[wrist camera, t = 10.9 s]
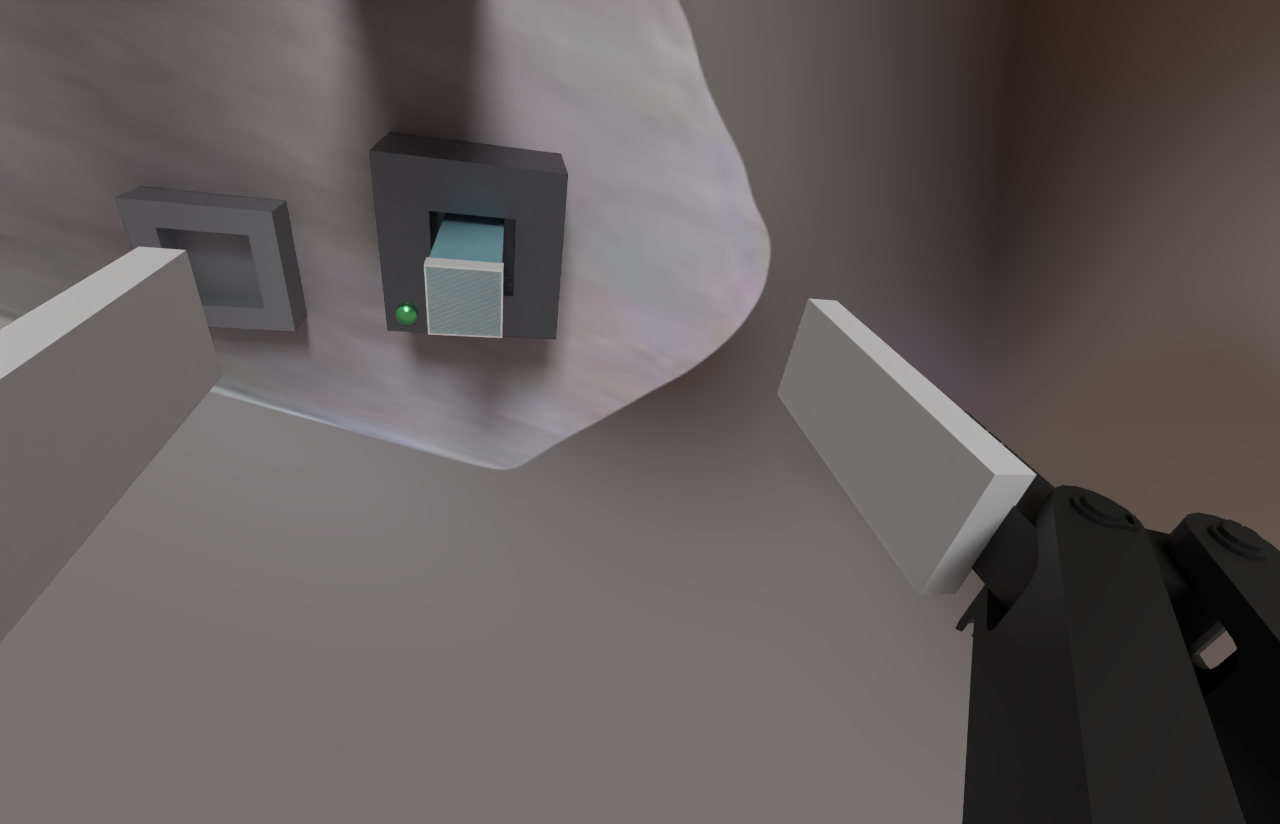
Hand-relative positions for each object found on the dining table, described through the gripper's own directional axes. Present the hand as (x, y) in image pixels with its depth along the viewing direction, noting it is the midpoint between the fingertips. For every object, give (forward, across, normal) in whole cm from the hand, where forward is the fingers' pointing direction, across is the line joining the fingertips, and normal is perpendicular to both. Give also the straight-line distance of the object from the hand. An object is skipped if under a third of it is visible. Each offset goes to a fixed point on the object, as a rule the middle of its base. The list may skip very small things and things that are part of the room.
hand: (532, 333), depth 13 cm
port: (+35, -3, -8) cm, 36 cm away
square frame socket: (+35, -21, -12) cm, 42 cm away
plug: (+32, -3, -8) cm, 33 cm away
